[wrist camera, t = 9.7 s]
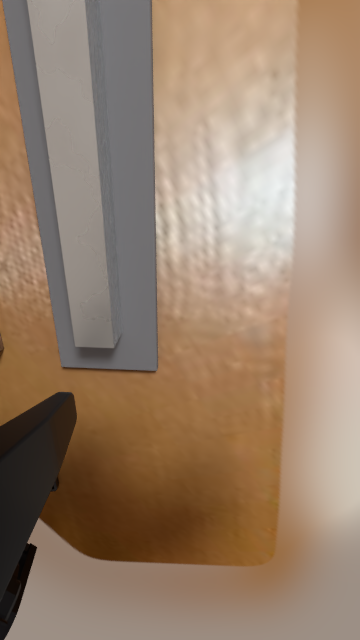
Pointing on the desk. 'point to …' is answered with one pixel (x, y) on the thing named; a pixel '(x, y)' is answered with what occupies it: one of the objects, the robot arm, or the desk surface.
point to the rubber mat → (127, 175)
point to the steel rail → (80, 161)
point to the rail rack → (1, 344)
